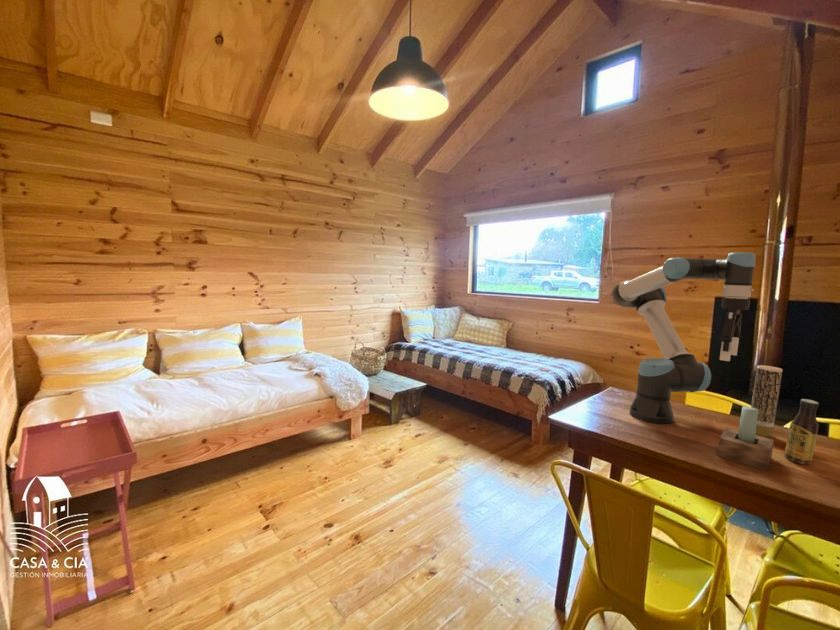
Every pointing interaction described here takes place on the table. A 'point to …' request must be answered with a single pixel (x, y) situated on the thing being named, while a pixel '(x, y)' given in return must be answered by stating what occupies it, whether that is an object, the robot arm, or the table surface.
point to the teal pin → (748, 424)
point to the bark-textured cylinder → (766, 398)
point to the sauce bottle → (803, 433)
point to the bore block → (745, 449)
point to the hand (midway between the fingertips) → (728, 357)
